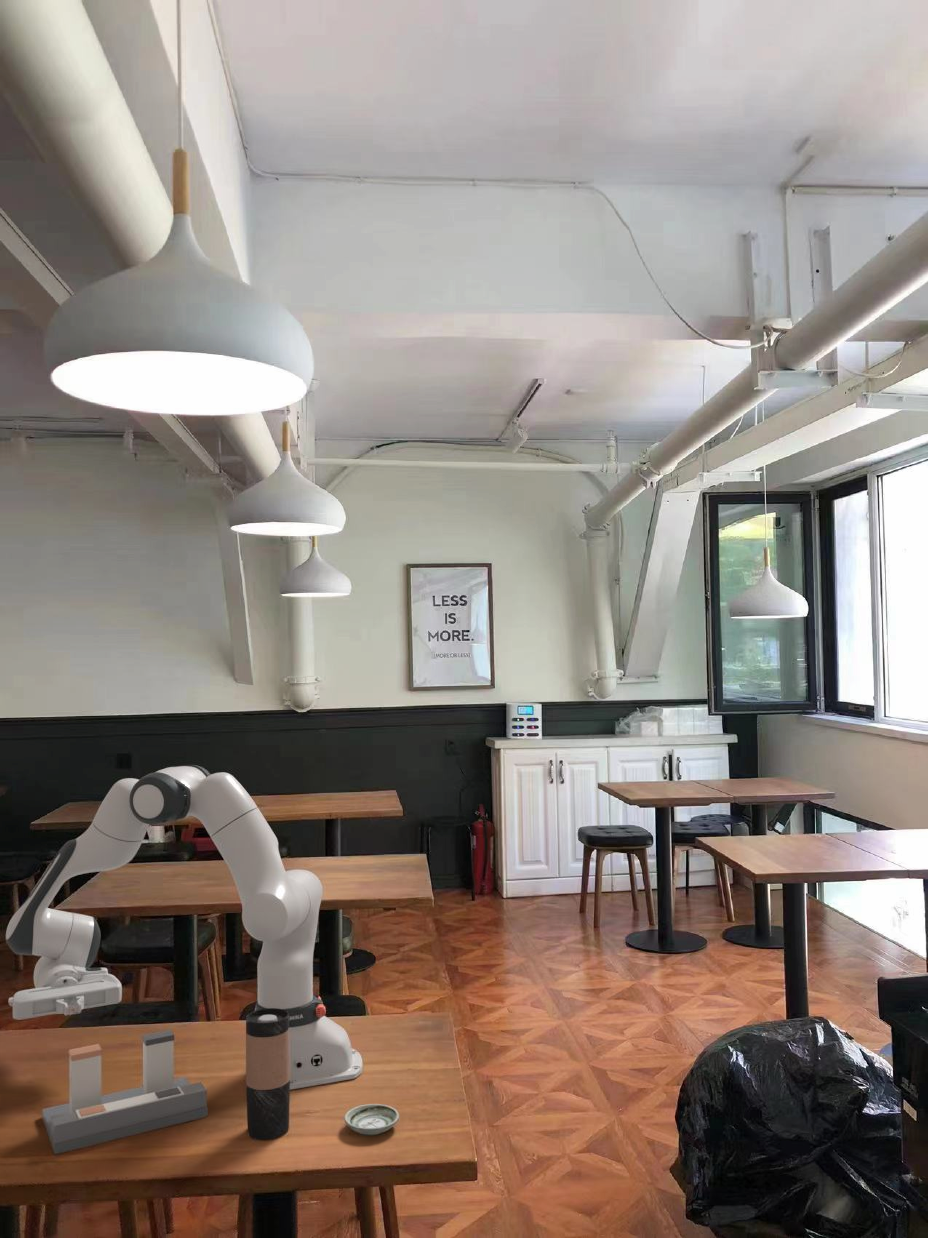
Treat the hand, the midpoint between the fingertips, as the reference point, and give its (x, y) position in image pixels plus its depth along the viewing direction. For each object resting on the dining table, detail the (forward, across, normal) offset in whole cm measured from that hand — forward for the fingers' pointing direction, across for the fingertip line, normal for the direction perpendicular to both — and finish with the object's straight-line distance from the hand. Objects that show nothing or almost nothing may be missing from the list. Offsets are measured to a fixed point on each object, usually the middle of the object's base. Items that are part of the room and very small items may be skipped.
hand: (73, 1010), depth 189 cm
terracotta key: (+12, 0, +14) cm, 19 cm away
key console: (+14, +7, +16) cm, 23 cm away
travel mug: (+34, +28, +16) cm, 46 cm away
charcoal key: (+12, +13, +14) cm, 23 cm away
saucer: (+43, +44, +16) cm, 63 cm away
